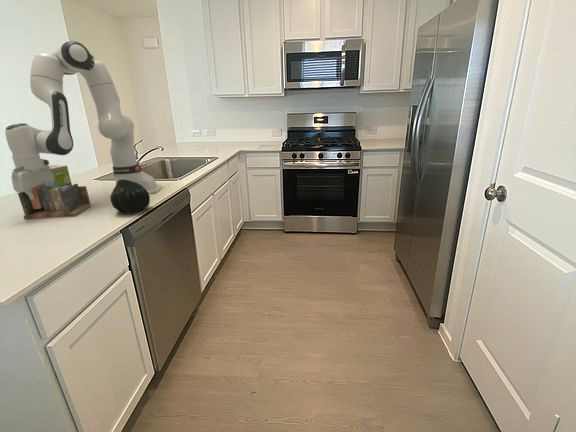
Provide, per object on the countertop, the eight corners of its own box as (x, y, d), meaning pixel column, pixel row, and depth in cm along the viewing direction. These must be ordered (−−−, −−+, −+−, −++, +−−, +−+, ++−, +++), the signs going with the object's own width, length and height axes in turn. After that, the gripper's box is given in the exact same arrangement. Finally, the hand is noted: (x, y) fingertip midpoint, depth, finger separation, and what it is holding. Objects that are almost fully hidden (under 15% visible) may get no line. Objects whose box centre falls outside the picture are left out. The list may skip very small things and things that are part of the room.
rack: (91, 205, 145) (84, 181, 141) (75, 216, 132) (68, 190, 128) (44, 208, 143) (37, 184, 139) (24, 219, 130) (15, 192, 126)
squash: (157, 199, 135) (141, 170, 137) (122, 209, 125) (105, 178, 126) (150, 214, 145) (134, 187, 147) (117, 224, 135) (101, 196, 136)
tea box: (49, 200, 156) (40, 170, 151) (33, 199, 158) (23, 170, 153) (74, 191, 170) (67, 164, 164) (59, 191, 172) (51, 164, 166)
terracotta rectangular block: (49, 204, 139) (43, 184, 136) (41, 208, 133) (34, 188, 130) (42, 204, 139) (35, 185, 135) (33, 209, 133) (26, 188, 130)
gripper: (20, 169, 120) (31, 203, 125) (51, 159, 139) (59, 189, 144) (2, 170, 120) (14, 204, 124) (35, 160, 139) (44, 190, 143)
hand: (38, 196), depth 134 cm, fingers closed on terracotta rectangular block, 6 cm apart
